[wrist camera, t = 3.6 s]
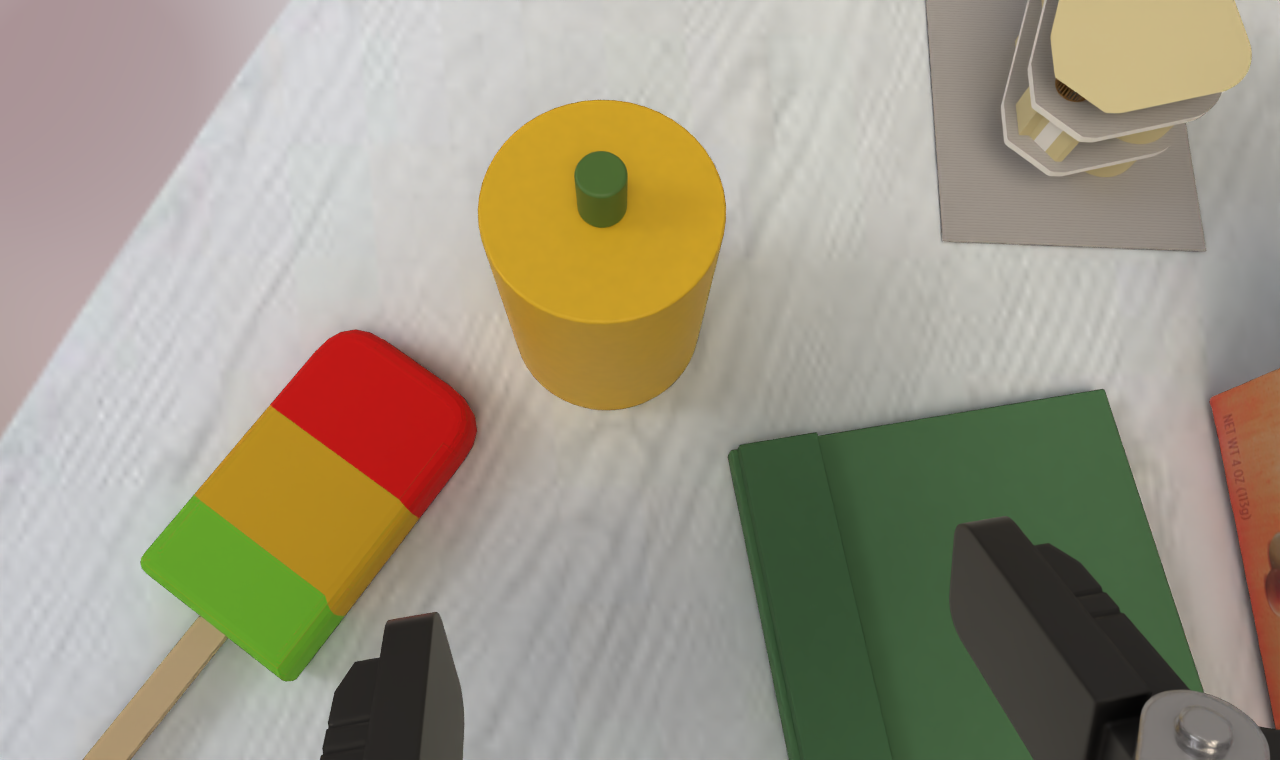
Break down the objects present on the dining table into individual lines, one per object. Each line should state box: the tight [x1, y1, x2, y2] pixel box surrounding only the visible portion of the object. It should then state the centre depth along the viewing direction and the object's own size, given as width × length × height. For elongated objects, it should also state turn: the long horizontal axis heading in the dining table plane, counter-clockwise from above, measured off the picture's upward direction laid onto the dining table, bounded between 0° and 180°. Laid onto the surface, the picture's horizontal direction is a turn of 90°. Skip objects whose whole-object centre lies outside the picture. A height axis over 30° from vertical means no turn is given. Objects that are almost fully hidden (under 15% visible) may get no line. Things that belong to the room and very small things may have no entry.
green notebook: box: [728, 389, 1204, 760], centre depth 26 cm, size 12×16×1 cm
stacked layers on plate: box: [926, 0, 1252, 251], centre depth 29 cm, size 10×9×6 cm
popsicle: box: [83, 330, 477, 760], centre depth 26 cm, size 6×15×2 cm, turn 145°
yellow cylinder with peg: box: [478, 100, 726, 410], centre depth 25 cm, size 6×6×10 cm
